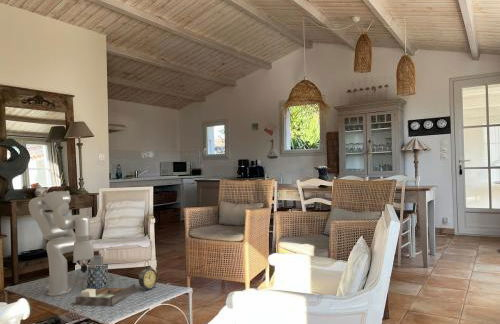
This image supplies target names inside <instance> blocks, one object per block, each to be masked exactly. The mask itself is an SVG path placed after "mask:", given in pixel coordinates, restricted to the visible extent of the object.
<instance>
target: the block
mask: <svg viewBox="0 0 500 324" xmlns="http://www.w3.org/2000/svg"><path fill="white" fill-rule="evenodd" d="M95 291H96V288H86V289H84V290H81V292H80V296H81V297H95V296H96V292H95Z"/></svg>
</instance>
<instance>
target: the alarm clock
mask: <svg viewBox="0 0 500 324" xmlns="http://www.w3.org/2000/svg"><path fill="white" fill-rule="evenodd" d="M146 263H148V265H144V267H145V269H143V270H142V271H140V273H139V275H138V284H139V286H140V287H141V288H142V289H143V293H145V291H146V289H152V288H156V284H157V283H158V282H157V281H158V273H157V271H156V270H155V269H154V268H148V267H149V265H150V263H149V262H148V261H145V262H144V264H146Z"/></svg>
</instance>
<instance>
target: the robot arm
mask: <svg viewBox="0 0 500 324" xmlns="http://www.w3.org/2000/svg"><path fill="white" fill-rule="evenodd" d="M71 198H72V197H71V194H70V193H69V192H68V191H67V190H66V191H65V190H58V191H51V192H49V191H48V192H47V193H45V194H44V196H36V197H34V198H32V199H30V201H29V202H28V211H29V214H30V215H31V217H32V219H33V220H34V221H35V222H36V223H37V226H38V229H40V232H41V235H42V236H43V239H45V240H48V242H47V243H46V253H47V258H48V269H49V284H47V285H46V286H45V290H48V291H47V292H46V293H47V296H50V297H56V296H62V295H66V294H68V293H70V292H71V291H72V288H71V287H69V277H68V276H69V275H68V260H67V258H66V257H65V256H64V254H67V253H72V252H73V253H72V254H73V255H72V256H73V259H72V263H73V264H74V263H75V264H78V265H79V266H80V272H82V274H84V273H85V274H86V272H87V271H88V265H89V264H90V262H91V261H94V251H95V250H94V242H93V240H92V239H94V235H91V218H90V216H88V215H83V214H73V215H67V216H66V214H67V213H68V211H69V209H70V205H69V204H70V202H71ZM46 211H52V212H53V213H52V215H51V214H49V213H48V212H46ZM64 215H65V216H64ZM74 230H75V231H74ZM83 261H85V262H84V263H83Z"/></svg>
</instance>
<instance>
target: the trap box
mask: <svg viewBox="0 0 500 324" xmlns="http://www.w3.org/2000/svg"><path fill="white" fill-rule="evenodd" d="M136 291H137V290H136V284H135V283H133V284H132V285H130V286H127V288H125V287H124V288H123V287H101V289H100V288H97V289H95V292H96V296H95V297H81V295H80V296H79V295H77V296H75V305H76V306H81V305H82V306H99V307H101V306H102V307H114V306H116V305H117V304H118V303H120V302H122V301H124V300H126V299H127V298H129V297H130V296H132V295H133V294H135V293H136Z"/></svg>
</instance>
